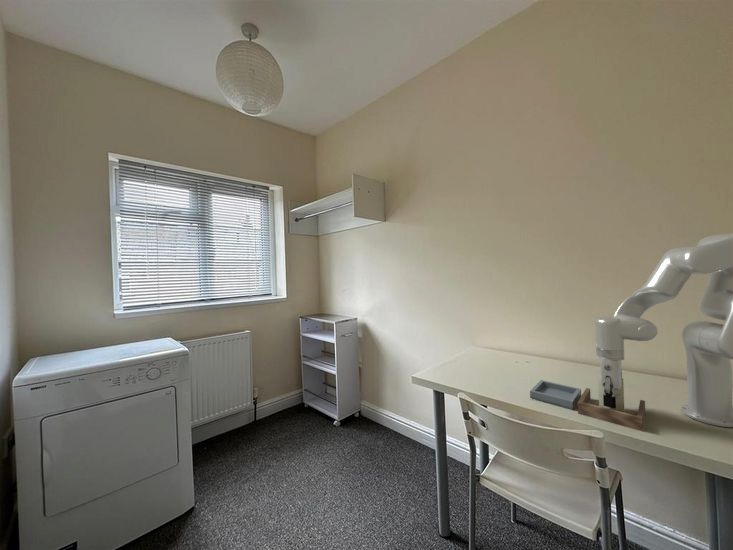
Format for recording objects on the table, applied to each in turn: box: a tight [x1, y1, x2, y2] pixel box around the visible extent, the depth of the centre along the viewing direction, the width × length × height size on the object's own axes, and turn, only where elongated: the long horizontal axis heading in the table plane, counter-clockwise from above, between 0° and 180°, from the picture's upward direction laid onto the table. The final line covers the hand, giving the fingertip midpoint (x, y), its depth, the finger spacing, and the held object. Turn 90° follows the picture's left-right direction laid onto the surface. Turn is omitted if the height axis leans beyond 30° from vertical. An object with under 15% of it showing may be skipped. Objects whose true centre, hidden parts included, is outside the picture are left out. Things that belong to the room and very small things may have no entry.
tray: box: [529, 379, 582, 411], centre depth 113 cm, size 14×14×3 cm
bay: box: [577, 387, 646, 432], centre depth 100 cm, size 16×15×4 cm
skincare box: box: [597, 376, 625, 413], centre depth 101 cm, size 6×4×12 cm
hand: (611, 402), depth 101 cm, fingers closed on skincare box, 7 cm apart
